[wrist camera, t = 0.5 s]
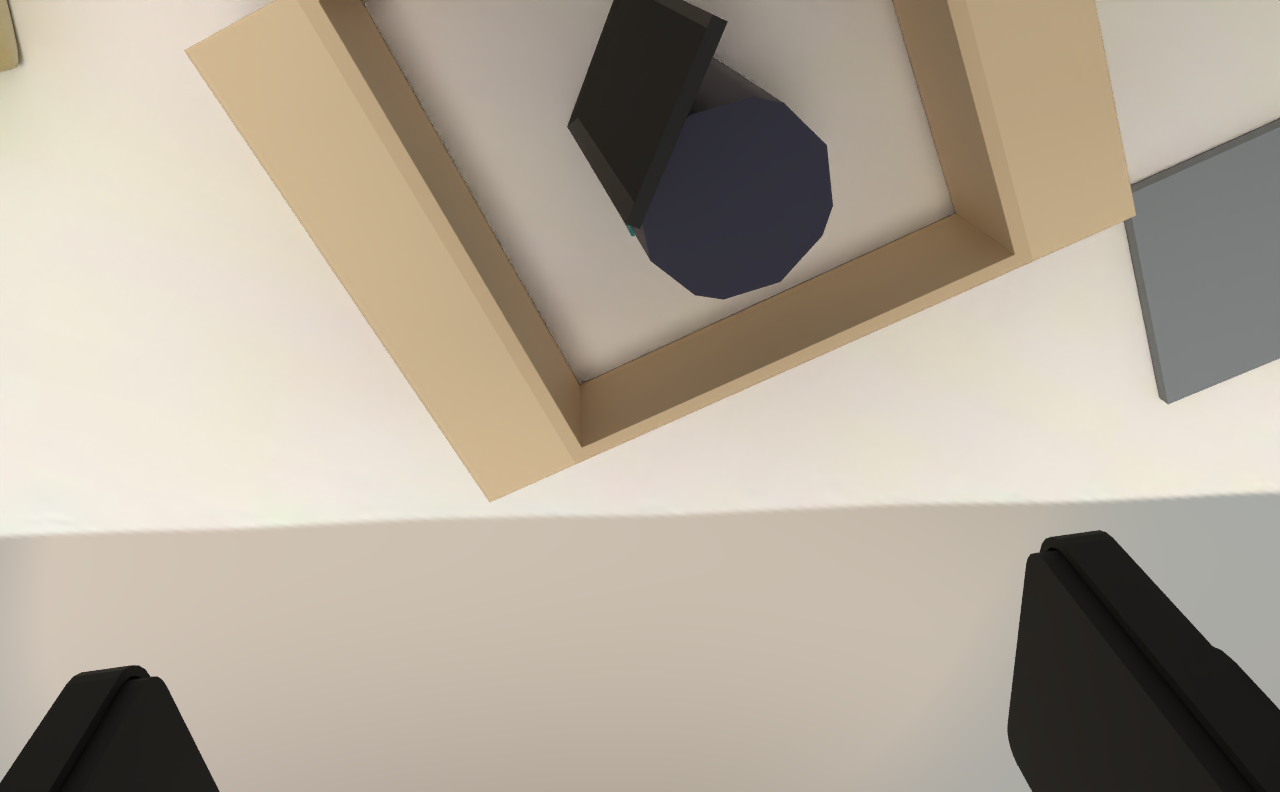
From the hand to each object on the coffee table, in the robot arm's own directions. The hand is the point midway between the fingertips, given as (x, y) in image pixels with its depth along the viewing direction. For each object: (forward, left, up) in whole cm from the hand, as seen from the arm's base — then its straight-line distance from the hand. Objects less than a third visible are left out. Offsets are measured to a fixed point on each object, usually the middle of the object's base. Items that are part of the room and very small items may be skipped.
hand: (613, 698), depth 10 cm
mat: (-23, +15, -25) cm, 37 cm away
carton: (-4, 0, -25) cm, 25 cm away
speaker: (-4, 0, -25) cm, 25 cm away
